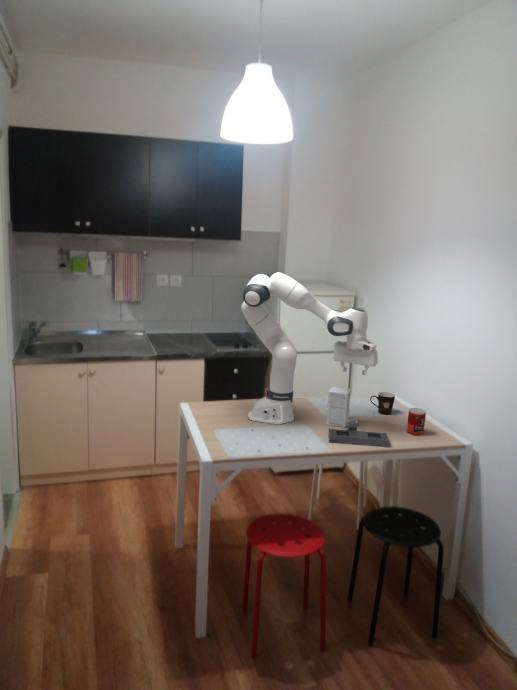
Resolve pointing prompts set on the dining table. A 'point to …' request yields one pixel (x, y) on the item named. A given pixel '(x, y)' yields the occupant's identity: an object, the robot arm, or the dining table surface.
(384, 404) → the coffee mug
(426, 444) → the dining table surface
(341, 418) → the supplement box
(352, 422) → the nut block
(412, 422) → the canned food
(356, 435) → the grey slotted base block
